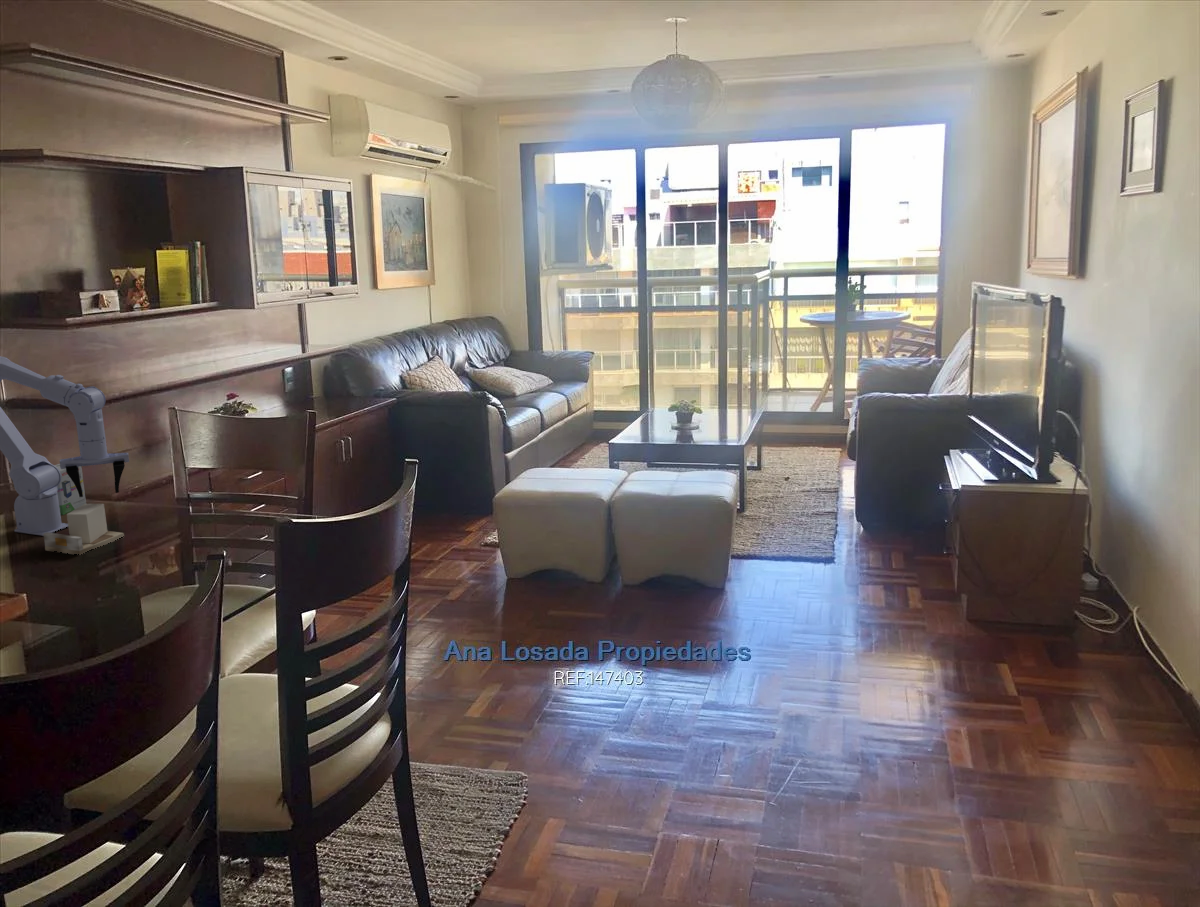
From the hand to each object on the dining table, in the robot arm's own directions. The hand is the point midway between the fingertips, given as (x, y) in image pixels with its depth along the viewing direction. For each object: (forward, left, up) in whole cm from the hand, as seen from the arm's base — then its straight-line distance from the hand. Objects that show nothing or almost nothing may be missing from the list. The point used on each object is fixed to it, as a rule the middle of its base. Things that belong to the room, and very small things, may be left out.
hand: (99, 493), depth 226 cm
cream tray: (+3, -8, -9) cm, 13 cm away
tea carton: (+3, -7, -8) cm, 11 cm away
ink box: (-22, +10, -10) cm, 26 cm away
